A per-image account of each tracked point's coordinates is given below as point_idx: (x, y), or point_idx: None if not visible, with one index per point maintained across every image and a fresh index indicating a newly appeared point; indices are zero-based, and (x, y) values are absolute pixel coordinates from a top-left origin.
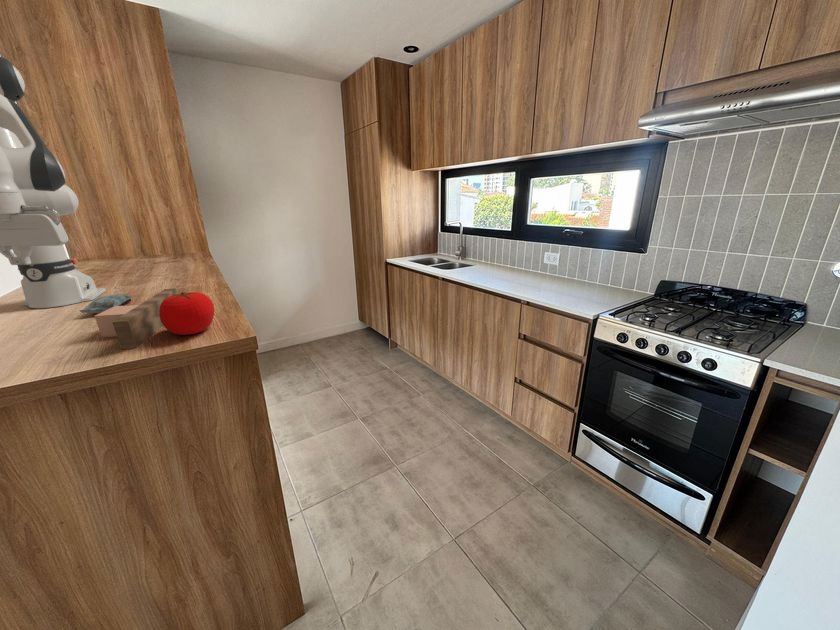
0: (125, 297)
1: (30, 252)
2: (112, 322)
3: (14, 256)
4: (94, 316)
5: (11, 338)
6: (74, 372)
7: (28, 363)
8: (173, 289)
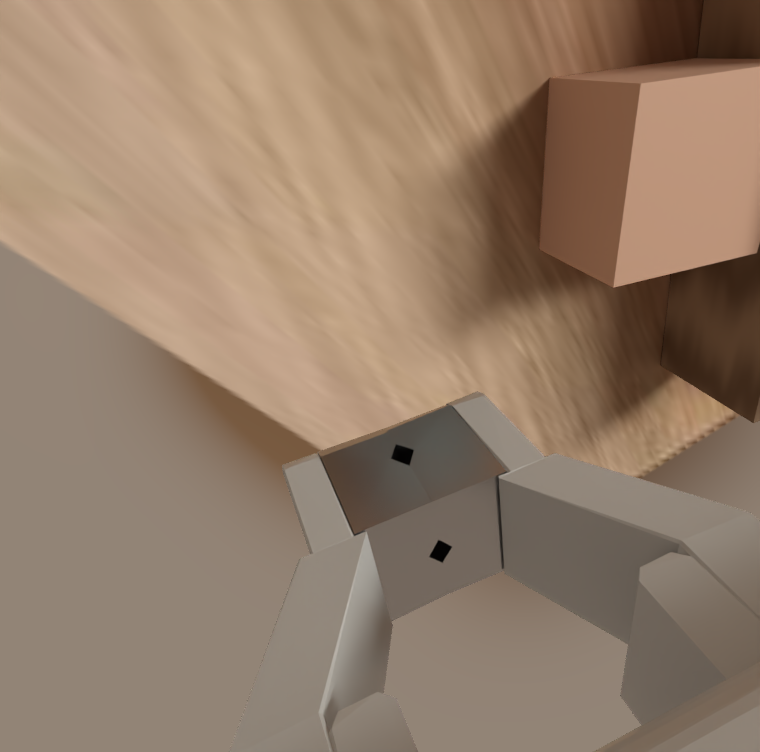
0: None
1: (653, 502)
2: (752, 421)
3: (377, 581)
4: (610, 285)
5: (55, 257)
6: None
7: None
8: None
